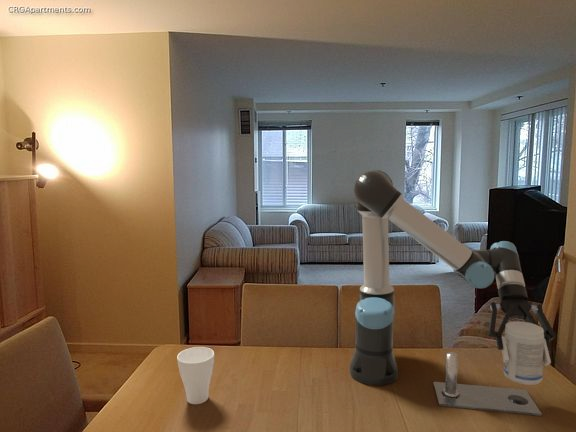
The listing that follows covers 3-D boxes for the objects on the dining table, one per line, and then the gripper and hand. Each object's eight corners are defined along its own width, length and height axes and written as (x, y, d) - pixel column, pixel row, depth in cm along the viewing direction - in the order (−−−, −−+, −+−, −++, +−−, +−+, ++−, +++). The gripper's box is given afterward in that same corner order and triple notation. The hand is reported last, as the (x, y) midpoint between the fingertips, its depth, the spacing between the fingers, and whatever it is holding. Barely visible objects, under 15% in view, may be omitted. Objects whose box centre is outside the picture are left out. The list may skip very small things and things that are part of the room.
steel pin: (443, 396, 121) (445, 357, 120) (441, 388, 126) (442, 350, 124) (460, 398, 120) (461, 358, 119) (457, 390, 125) (458, 351, 123)
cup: (222, 392, 126) (220, 349, 124) (204, 412, 116) (202, 365, 114) (191, 386, 129) (189, 344, 128) (171, 405, 120) (169, 360, 118)
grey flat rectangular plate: (439, 405, 118) (439, 403, 118) (433, 383, 130) (433, 381, 130) (541, 415, 113) (541, 413, 113) (525, 391, 124) (526, 389, 124)
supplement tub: (548, 379, 117) (552, 328, 115) (530, 390, 112) (534, 337, 110) (513, 365, 125) (516, 318, 123) (495, 375, 120) (498, 325, 118)
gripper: (547, 295, 129) (567, 370, 115) (470, 292, 133) (480, 364, 120) (556, 284, 123) (577, 361, 109) (474, 281, 127) (485, 354, 114)
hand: (526, 362), depth 115 cm, fingers closed on supplement tub, 9 cm apart
